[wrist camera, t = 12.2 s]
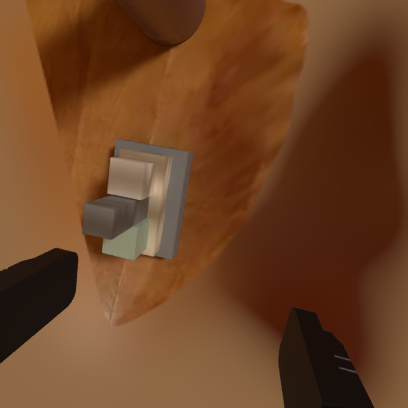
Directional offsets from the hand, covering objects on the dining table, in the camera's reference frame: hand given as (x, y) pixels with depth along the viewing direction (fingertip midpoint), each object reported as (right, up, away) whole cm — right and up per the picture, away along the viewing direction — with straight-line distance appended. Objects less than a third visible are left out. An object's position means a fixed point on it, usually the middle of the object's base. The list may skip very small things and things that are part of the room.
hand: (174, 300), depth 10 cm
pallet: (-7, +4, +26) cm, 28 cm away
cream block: (-7, +7, +23) cm, 25 cm away
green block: (-8, 0, +25) cm, 26 cm away
